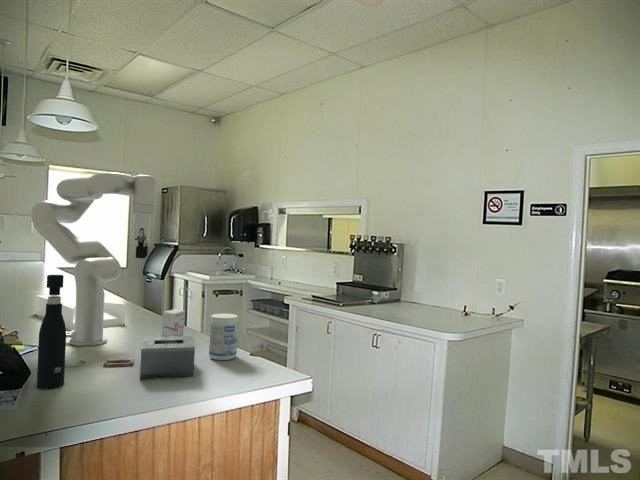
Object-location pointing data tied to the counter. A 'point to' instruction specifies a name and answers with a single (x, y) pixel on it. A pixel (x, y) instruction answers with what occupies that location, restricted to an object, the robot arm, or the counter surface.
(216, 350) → the supplement tub
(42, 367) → the black water bottle
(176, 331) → the ink box
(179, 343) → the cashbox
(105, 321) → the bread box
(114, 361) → the cradle
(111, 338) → the counter surface
